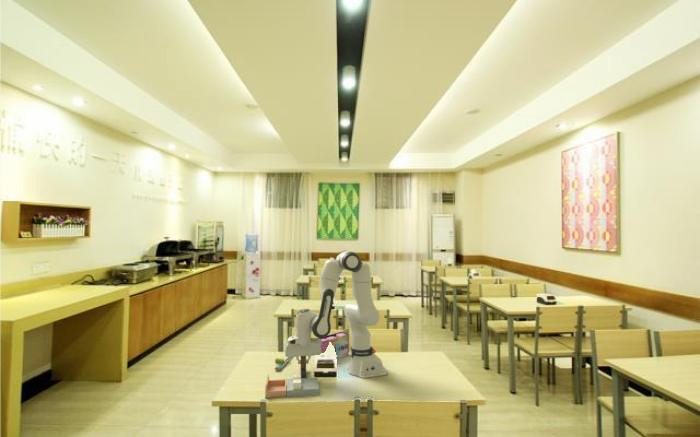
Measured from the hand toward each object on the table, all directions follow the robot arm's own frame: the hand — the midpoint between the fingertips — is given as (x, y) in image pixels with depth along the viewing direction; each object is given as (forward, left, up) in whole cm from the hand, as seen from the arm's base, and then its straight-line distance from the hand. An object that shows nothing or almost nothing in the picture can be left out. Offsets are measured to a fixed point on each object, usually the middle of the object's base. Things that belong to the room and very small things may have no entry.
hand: (303, 363), depth 193 cm
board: (+1, +16, -7) cm, 18 cm away
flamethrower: (+11, -22, -8) cm, 26 cm away
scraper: (0, 0, -5) cm, 5 cm away
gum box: (-19, -27, -8) cm, 34 cm away
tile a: (+4, +13, -4) cm, 14 cm away
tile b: (+4, +20, -4) cm, 21 cm away
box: (+14, +16, -7) cm, 23 cm away
